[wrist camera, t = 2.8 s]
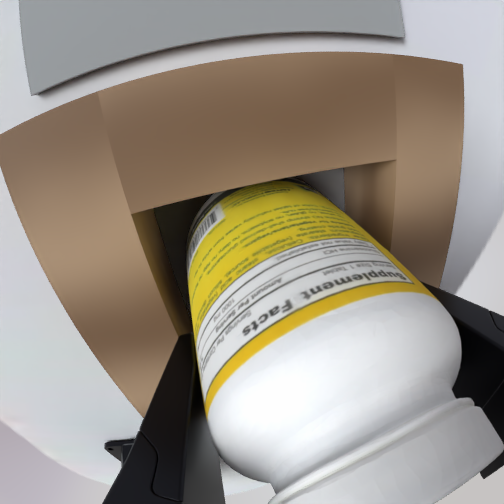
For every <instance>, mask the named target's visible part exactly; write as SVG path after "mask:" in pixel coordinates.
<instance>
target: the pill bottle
mask: <svg viewBox="0 0 504 504" xmlns="http://www.w3.org/2000/svg"><path fill="white" fill-rule="evenodd" d="M186 266H187V277H188V287H189V296H190V305H191V314H192V322H193V331H194V339H195V346H196V355H197V362H198V368H199V375H200V382H201V388H202V395H203V401H204V407H205V413H206V419H207V423H208V427H209V431H210V435H211V438H212V442H213V445H214V447H215V449H216V450H217V452H218V454H219V455H220V457H221V458H222V459H223V461H225V462H226V463H227V464H228V465H229V466H230V467H231V468H232V469H233V470H235V471H237V472H238V473H240V474H242V475H243V476H246V477H248V478H251V479H253V480H257V481H261V482H265V483H271V485H272V487H273V489H274V491H275V493H276V495H275V496H274V497H273V498H272V499H271V500H270V501H269V502H268V504H434V503H436V502H438V501H439V500H441V499H442V498H444V497H445V496H447V495H449V494H450V493H452V492H453V491H455V490H456V489H457V488H459V487H460V486H462V485H463V484H465V483H466V482H467V481H469V480H470V479H471V478H472V477H474V476H475V475H477V474H478V473H479V472H480V471H482V470H483V469H484V468H485V467H486V466H488V465H489V464H490V463H491V462H492V461H493V460H495V459H496V458H497V457H498V456H499V455H500V454H501V453H502V452H503V450H504V444H503V442H502V441H501V439H500V437H499V435H498V434H497V432H496V431H495V429H494V427H493V426H492V424H491V423H490V421H489V420H488V418H487V416H486V415H485V413H484V412H483V410H482V409H481V408H480V407H477V406H474V402H473V400H472V399H471V398H459V399H456V398H455V396H454V394H453V391H452V387H453V386H454V383H455V381H456V378H457V376H458V372H459V369H460V364H461V353H462V348H461V339H460V335H459V331H458V328H457V326H456V324H455V322H454V320H453V318H452V316H451V315H450V314H449V313H448V311H447V310H446V309H445V308H444V306H443V305H442V304H441V303H440V302H439V301H438V299H437V298H436V297H435V296H434V295H433V294H432V293H431V292H430V291H429V290H428V289H427V288H426V287H425V286H424V285H423V284H422V283H421V282H420V281H419V280H418V279H417V278H416V277H415V276H414V275H413V274H411V273H410V272H409V271H408V270H407V269H406V268H405V267H404V266H403V265H402V264H401V263H400V262H399V261H398V260H397V259H396V258H395V257H394V256H393V255H392V254H391V253H390V252H389V251H388V250H387V249H385V248H384V247H383V246H382V245H381V244H379V243H378V242H377V241H376V240H375V239H374V238H373V237H372V236H371V235H369V234H368V233H367V232H366V231H365V230H364V229H363V228H362V227H360V226H359V225H358V224H357V223H356V222H355V221H353V220H352V219H351V218H350V217H349V216H348V215H347V214H345V213H344V212H343V211H342V210H340V209H339V208H338V207H337V206H336V205H334V204H333V203H332V202H331V201H330V200H328V199H327V198H326V197H325V196H323V195H322V194H321V193H319V192H318V191H317V190H315V189H314V188H312V187H311V186H309V185H308V184H306V183H305V182H303V181H301V180H298V179H296V178H293V177H287V178H282V179H277V180H272V181H267V182H262V183H257V184H252V185H247V186H243V187H238V188H234V189H229V190H225V191H220V192H216V193H214V194H213V195H212V196H211V197H210V198H209V199H208V200H207V201H206V202H205V203H204V205H203V206H202V207H201V209H200V210H199V211H198V213H197V215H196V217H195V218H194V220H193V222H192V225H191V227H190V230H189V233H188V238H187V244H186Z"/></svg>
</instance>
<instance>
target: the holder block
mask: <svg viewBox="0 0 504 504" xmlns="http://www.w3.org/2000/svg"><path fill="white" fill-rule="evenodd" d="M463 132H464V78H463V64H458V63H453V62H447V61H442V60H435V59H429V58H422V57H414V56H405V55H395V54H383V53H366V52H301V53H284V54H271V55H261V56H251V57H243V58H236V59H229V60H222V61H216V62H210V63H204V64H199V65H194V66H189V67H184V68H179V69H175V70H171V71H166V72H162V73H158V74H154V75H150V76H147V77H143V78H139V79H136V80H132V81H129V82H126V83H122V84H119V85H116V86H113V87H110V88H107V89H104V90H101V91H98V92H95V93H92V94H89V95H87V96H84V97H81V98H79V99H76V100H73V101H71V102H68V103H66V104H63V105H61V106H59V107H56V108H54V109H52V110H49V111H47V112H45V113H43V114H40V115H38V116H36V117H34V118H32V119H30V120H28V121H26V122H24V123H21V124H19V125H18V126H16V127H14V128H12V129H10V130H8V131H6V132H4V133H2V134H0V166H1V170H2V173H3V176H4V179H5V182H6V184H7V187H8V190H9V193H10V196H11V198H12V201H13V203H14V206H15V209H16V211H17V214H18V216H19V218H20V221H21V223H22V226H23V228H24V230H25V233H26V235H27V237H28V239H29V241H30V244H31V246H32V248H33V250H34V252H35V254H36V256H37V258H38V260H39V262H40V264H41V266H42V268H43V270H44V272H45V274H46V276H47V278H48V280H49V282H50V284H51V285H52V287H53V289H54V291H55V293H56V294H57V296H58V298H59V300H60V301H61V303H62V305H63V307H64V308H65V310H66V312H67V313H68V315H69V317H70V318H71V320H72V322H73V323H74V325H75V326H76V328H77V330H78V331H79V333H80V334H81V336H82V337H83V339H84V340H85V342H86V343H87V345H88V346H89V348H90V349H91V351H92V352H93V354H94V355H95V356H96V358H97V359H98V361H99V362H100V363H101V365H102V366H103V368H104V369H105V370H106V372H107V373H108V374H109V376H110V377H111V378H112V380H113V381H114V382H115V384H116V385H117V386H118V388H119V389H120V390H121V391H122V393H123V394H124V395H125V396H126V398H127V399H128V400H129V401H130V403H131V404H132V405H133V406H134V407H135V409H136V410H137V411H138V412H139V413H140V414H141V416H142V417H143V418H144V417H145V414H146V412H147V409H148V407H149V405H150V402H151V400H152V397H153V395H154V393H155V390H156V388H157V386H158V383H159V381H160V379H161V376H162V374H163V372H164V369H165V367H166V365H167V362H168V360H169V358H170V355H171V353H172V351H173V349H174V346H175V344H176V342H177V340H178V337H179V336H180V335H182V334H186V333H191V332H192V333H194V331H193V325H192V323H191V320H190V317H189V315H188V312H187V309H186V307H185V304H184V301H183V298H182V296H181V293H180V290H179V287H178V284H177V281H176V279H175V276H174V273H173V270H172V267H171V264H170V261H169V258H168V255H167V252H166V249H165V246H164V243H163V239H162V236H161V233H160V230H159V227H158V223H157V220H156V217H155V214H154V210H153V208H155V207H159V206H163V205H167V204H171V203H175V202H179V201H183V200H187V199H191V198H195V197H199V196H203V195H207V194H212V193H216V192H220V191H225V190H229V189H234V188H238V187H243V186H247V185H252V184H257V183H262V182H267V181H272V180H277V179H282V178H287V177H292V176H297V175H303V174H308V173H314V172H319V171H325V170H331V169H337V168H343V167H344V186H345V214H347V215H348V216H349V217H350V218H351V219H352V220H353V221H355V222H356V223H357V224H358V225H359V226H360V227H362V228H363V229H364V230H365V231H366V232H367V233H368V234H369V235H371V236H372V237H373V238H374V239H375V240H376V241H377V242H378V243H379V244H381V245H382V246H383V247H384V248H385V249H387V250H388V251H389V252H390V253H391V254H392V255H393V256H394V257H395V258H396V259H397V260H398V261H399V262H400V263H401V264H402V265H403V266H404V267H405V268H406V269H407V270H408V271H409V272H410V273H411V274H413V275H414V276H415V277H416V278H417V279H418V280H419V281H422V282H424V283H426V284H429V285H431V286H434V287H436V288H439V286H440V282H441V278H442V274H443V270H444V266H445V262H446V258H447V253H448V249H449V244H450V239H451V234H452V228H453V223H454V217H455V211H456V205H457V198H458V190H459V182H460V173H461V162H462V150H463Z"/></svg>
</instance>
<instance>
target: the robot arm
mask: <svg viewBox="0 0 504 504" xmlns="http://www.w3.org/2000/svg"><path fill="white" fill-rule="evenodd" d="M420 282H421V283H422V284H423V285H424V286H425V287H426V288H427V289H428V290H429V291H430V292H431V293H432V294H433V295H434V296H435V297H436V298H437V299H438V301H439V302H440V303H441V304H442V305H443V306H444V308H445V309H446V310H447V311H448V313H449V314H450V315H451V316H452V318H453V320H454V322H455V324H456V326H457V328H458V331H459V335H460V339H461V348H462V353H461V364H460V369H459V372H458V376H457V378H456V381H455V383H454V386H453V387H452V391H453V394H454V396H455V398H456V399H459V398H471V399H472V400H473V402H474V406H477V407H480V408H481V409H482V410H483V412H484V413H485V415H486V416H487V418H488V420H489V421H490V423H491V424H492V426H493V427H494V429H495V431H496V432H497V434H498V435H499V437H500V439H501V441H502V442H503V444H504V316H502V315H499V314H497V313H495V312H492V311H489V310H488V309H486V308H483V307H481V306H479V305H476V304H474V303H472V302H469V301H467V300H464V299H462V298H460V297H458V296H455V295H453V294H451V293H448V292H446V291H443V290H441V289H439V288H436V287H434V286H431V285H429V284H426V283H424V282H422V281H420ZM139 430H140V431H138V433H137V436H136V438H135V440H131V441H120V442H107V443H105V450H107V451H108V452H109V453H110V454H112V455H113V456H114V457H116V458H117V459H118V460H119V461H121V463H122V468H121V470H120V472H119V474H118V476H117V478H116V479H115V481H114V483H113V485H112V487H111V489H110V491H109V492H108V494H107V496H106V498H105V499H104V502H103V503H102V504H225V497H224V490H223V483H222V476H221V469H220V461H219V454H218V452H217V450H216V449H215V447H214V445H213V442H212V438H211V435H210V431H209V427H208V423H207V419H206V413H205V407H204V401H203V395H202V388H201V382H200V375H199V368H198V362H197V355H196V346H195V339H194V333H192V332H191V333H186V334H182V335H180V336H179V337H178V340H177V342H176V344H175V346H174V349H173V351H172V353H171V355H170V358H169V360H168V362H167V365H166V367H165V369H164V372H163V374H162V376H161V379H160V381H159V383H158V386H157V388H156V390H155V393H154V395H153V397H152V400H151V402H150V405H149V407H148V409H147V412H146V414H145V417H144V419H143V421H142V424H141V426H140V429H139ZM503 465H504V450H503V452H502V453H501V454H500V455H499V456H498V457H497V458H496V459H495V460H493V461H492V462H491V463H490V464H489V465H488V466H486V467H485V468H484V469H483V470H482V471H480V474H481V476H482V477H483V479H485V478H486V477H488V476H489V475H491V474H492V473H494V472H495V471H497V470H498V469H499V468H500V467H502V466H503Z"/></svg>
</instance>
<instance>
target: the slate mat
mask: <svg viewBox="0 0 504 504" xmlns="http://www.w3.org/2000/svg"><path fill="white" fill-rule="evenodd" d="M19 11H20V24H21V35H22V43H23V51H24V58H25V65H26V71H27V77H28V82H29V87H30V92H31V96H32V95H37V94H39V93H41V92H43V91H45V90H47V89H50V88H52V87H54V86H57V85H59V84H61V83H64V82H66V81H68V80H71V79H73V78H76V77H79V76H81V75H84V74H86V73H89V72H92V71H95V70H98V69H100V68H103V67H106V66H109V65H112V64H116V63H119V62H122V61H125V60H129V59H132V58H136V57H139V56H143V55H147V54H150V53H154V52H158V51H163V50H167V49H171V48H176V47H181V46H185V45H191V44H196V43H201V42H207V41H214V40H220V39H227V38H235V37H244V36H253V35H265V34H280V33H351V34H366V35H377V36H387V37H395V38H405V34H404V26H403V19H402V13H401V7H400V1H399V0H19Z"/></svg>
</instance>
